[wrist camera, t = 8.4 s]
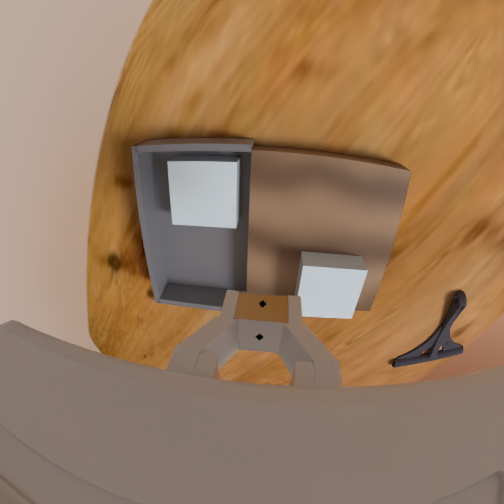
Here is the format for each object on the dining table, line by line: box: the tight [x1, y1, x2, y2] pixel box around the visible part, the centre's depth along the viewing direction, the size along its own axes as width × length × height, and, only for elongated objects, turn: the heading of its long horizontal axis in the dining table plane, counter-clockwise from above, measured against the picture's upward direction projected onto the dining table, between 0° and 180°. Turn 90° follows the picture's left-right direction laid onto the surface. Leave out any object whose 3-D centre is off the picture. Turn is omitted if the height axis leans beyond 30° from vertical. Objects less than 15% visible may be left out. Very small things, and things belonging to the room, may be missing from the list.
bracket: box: [392, 291, 466, 367], centre depth 32 cm, size 14×15×3 cm
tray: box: [131, 138, 254, 311], centre depth 26 cm, size 17×10×4 cm, turn 178°
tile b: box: [294, 251, 368, 319], centre depth 26 cm, size 6×6×2 cm
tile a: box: [167, 156, 241, 229], centre depth 24 cm, size 6×6×2 cm
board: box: [246, 145, 411, 311], centre depth 26 cm, size 16×14×2 cm
